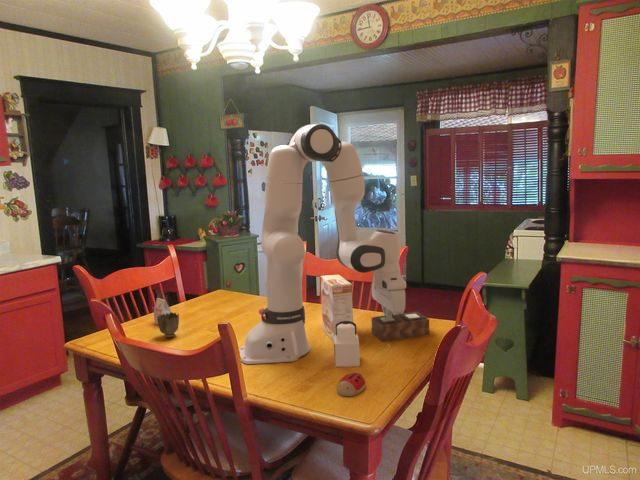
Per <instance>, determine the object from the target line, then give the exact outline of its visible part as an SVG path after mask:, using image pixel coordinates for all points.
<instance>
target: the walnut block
mask: <svg viewBox="0 0 640 480" xmlns="http://www.w3.org/2000/svg"><path fill="white" fill-rule="evenodd" d="M407 314H417V315H418V316H420V317H416V318H408V317H406V316H405V315H407ZM383 317H384V315H380V316H378V315H377V316H373V317H371V334H372V335H374V337H375V338H376V339H378V340H379V341H380V342H381V343H383V342H391V341H398V340H400V341H401V340H406V339H413V338H420V337H426V336H430V319H429V318H427V317H426V316H425V315H424V314H422V313H420V312H419V311H410V312H406V313H402V314H397V315H392V318H393V319H395V320H392V321H382V320H381V319H380V318H383Z"/></svg>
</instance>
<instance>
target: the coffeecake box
mask: <svg viewBox="0 0 640 480" xmlns="http://www.w3.org/2000/svg"><path fill="white" fill-rule="evenodd" d="M320 289H321V293H320V295H321V311H322V313H321V314H322V315H321V316H322V317H321V318H322V330H323V331H324V332H325V334H326V335H327V337H328V338H330V340H331V341H332V343H334V336H335V335H336V324H337V323H339V322H341V321H351V322H354V312H353V311H354V310H353V304H354V303H353V283H351V282H350V281H348V280H347V279H346V278H344V277H343V276H341V275H340V274H332V275H331V274H330V275H321V276H320Z"/></svg>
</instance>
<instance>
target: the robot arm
mask: <svg viewBox="0 0 640 480" xmlns="http://www.w3.org/2000/svg"><path fill="white" fill-rule="evenodd" d="M291 135H292V136H291V137H290V139H289V140H288V142H287V143H286V144H283V145H282V144H281V145H277V146H276V147H274V148H273V149H271V151H270V153H269V156H268V161H267V166H266V175H265V200H264V201H265V202H264V212H263V213H264V214H263V221H262V230H261V239H260V241H261V242H260V244H261V245H260V246H261V250H262V252H263V254H264V256H266V260H267V271H266V272H267V273H266V282H265V283H266V284H265V287H266V290H265V291H266V308H264V307H259V308H258V314H259V315H260V316H261V321H259V322H258V323H257V324H255V325H254V327H252V328H250V330H249V331H248V332H247V334H246V336H245V341H244V345H241V346H240V347H239V349H238V351H239V350H240V356H241V360H240V362H242V363H244V364H246V365H252V364H253V365H254V364H255V365H258V364H271V363H272V364H273V363H286V362H287V363H288V362H290V363H291V362H295V361H298V359H299V358H301V357H303V356H305V355H306V354H308V353H309V352H310V350H311V347H310V344H309V341H308V337H307V332H306V328H305V324H306V310H305V306H304V302H303V273H304V272H303V271H304V263H305V262H304V260H305V259H304V258H305V254H306V249H305V244H304V242H303V239H302V238H301V236H300V235H298V234H297V232H298V231H297V230H298V225H299V220H300V216H301V215H300V214H301V212H302V209H303V207H302V205H303V180H304V179H303V177H304V176H303V175H304V174H303V173H304V169H305V167H306V164H307V163H309V162H311V163H313V162H320V163H321V164H322V165H323V166H324V169H325V171H326V177H327V182H328V186H329V191H330V194H331V198H332V203H333V209H334V215H335V216H334V217H335V222H336V229H337V237H338V240H337V244H336V245H337V246H336V258H337V261H338V262H339V263H340V265H342V266H343V267H345V268H349V269H351V270H353V271H355V272H356V273H357V272H358V273H360V274H364V273H371V272H373V273H372V274H373V275H372V276H373V279H372V285H371V296H372V299H373V300H374V301H376V302H378V304H380V305H381V309H382V313H383V316H384V318H385V319H387V320H392V314H393V313H394V314H397V313H403V312H404V310H405V300H406V288H407V282H406V281H405V280H404V278H403V276H402V274H401V267H400V259H401V252H400V247H401V246H400V240H399V236H398V234H397V233H396V232H395V231H391V230H384V229H376V230H374V232H373V233H372V234H370V235H369V236H367V237H366V238H364V239H362V240H361V239H360V238H359V236H358V233H357V225H356V218H355V209H356V207H357V206H358V204H360V203H361V201H362V200H363V199H364V196H365V194H366V193H365V191H366V189H365V186H366V185H365V177H364V171H363V167H362V164H361V161H360V158H359V154H358V152H357V149H356V148H355V146H354V144H352V143H351V142H348V141H341V140H340V139H339V137H338V136H337V135H336V133H335V132H334V130H333V129H332V128H331V127H329V126H328V125H326V124H324V123H319V122H317V123H310V124H306V125H303V126H301V127H300V128H297V129H296V130H295V131H294V132H293V134H291ZM404 289H405V290H404Z"/></svg>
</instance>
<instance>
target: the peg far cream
mask: <svg viewBox="0 0 640 480" xmlns="http://www.w3.org/2000/svg"><path fill="white" fill-rule="evenodd" d="M405 316H406V317H408V318H416V317H420V316H418V315H417V314H407V315H405Z"/></svg>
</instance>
